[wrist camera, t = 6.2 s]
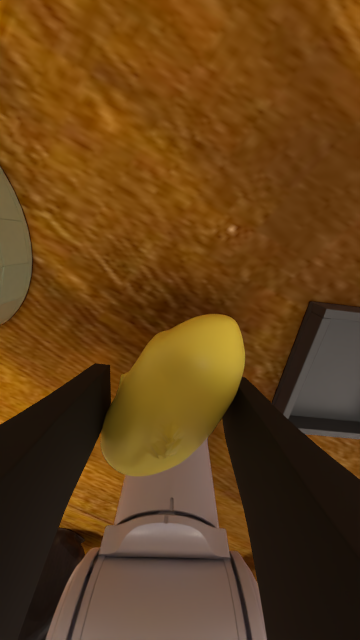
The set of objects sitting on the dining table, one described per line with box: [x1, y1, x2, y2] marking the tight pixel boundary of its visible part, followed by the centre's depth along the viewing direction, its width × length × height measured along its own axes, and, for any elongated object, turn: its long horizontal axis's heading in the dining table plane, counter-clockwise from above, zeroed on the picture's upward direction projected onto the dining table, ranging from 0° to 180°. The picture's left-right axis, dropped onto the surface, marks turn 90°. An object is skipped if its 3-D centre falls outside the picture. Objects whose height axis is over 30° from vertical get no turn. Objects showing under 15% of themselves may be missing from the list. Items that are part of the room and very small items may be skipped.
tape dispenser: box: [18, 528, 85, 640], centre depth 24 cm, size 21×6×12 cm, turn 85°
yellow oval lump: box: [101, 314, 245, 476], centre depth 8 cm, size 4×8×4 cm, turn 143°
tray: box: [272, 301, 360, 439], centre depth 18 cm, size 12×10×2 cm
